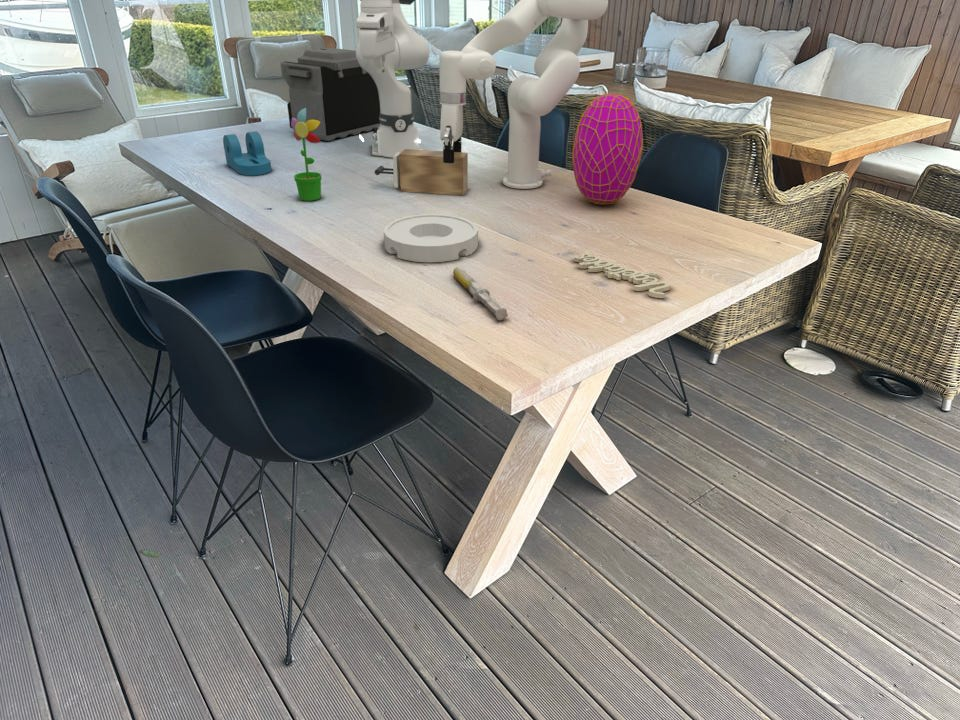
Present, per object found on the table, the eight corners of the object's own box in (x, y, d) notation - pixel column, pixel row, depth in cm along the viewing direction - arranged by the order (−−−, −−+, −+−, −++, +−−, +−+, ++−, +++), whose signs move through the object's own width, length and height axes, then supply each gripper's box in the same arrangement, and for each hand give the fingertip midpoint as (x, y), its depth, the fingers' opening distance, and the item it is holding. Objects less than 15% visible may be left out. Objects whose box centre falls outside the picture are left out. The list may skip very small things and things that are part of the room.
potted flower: (330, 196, 204) (321, 108, 191) (314, 203, 197) (304, 113, 185) (304, 192, 207) (294, 105, 194) (288, 199, 201) (276, 109, 188)
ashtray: (391, 227, 181) (390, 212, 179) (479, 229, 180) (479, 214, 178) (377, 261, 161) (376, 245, 159) (476, 263, 160) (476, 247, 158)
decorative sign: (686, 282, 150) (660, 295, 144) (686, 286, 150) (659, 300, 144) (592, 249, 166) (565, 259, 160) (592, 253, 167) (565, 263, 161)
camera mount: (227, 164, 233) (221, 132, 227) (257, 160, 238) (252, 129, 233) (244, 176, 220) (239, 143, 215) (276, 172, 225) (271, 139, 220)
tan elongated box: (400, 191, 209) (398, 154, 204) (406, 185, 215) (405, 148, 209) (463, 195, 206) (463, 157, 201) (467, 189, 212) (467, 152, 206)
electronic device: (351, 120, 297) (345, 44, 282) (389, 127, 286) (385, 48, 271) (285, 135, 271) (274, 52, 256) (324, 143, 260) (315, 57, 245)
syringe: (449, 274, 155) (449, 263, 153) (465, 272, 156) (464, 260, 154) (490, 323, 135) (491, 310, 133) (508, 319, 136) (508, 307, 134)
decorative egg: (611, 217, 189) (624, 103, 174) (555, 202, 201) (562, 94, 185) (647, 202, 202) (662, 94, 186) (592, 188, 213) (602, 86, 198)
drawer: (375, 186, 211) (372, 155, 206) (380, 181, 215) (378, 150, 210) (452, 191, 207) (452, 159, 202) (456, 186, 211) (456, 155, 206)
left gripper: (378, 15, 198) (381, 67, 205) (353, 21, 181) (358, 77, 188) (399, 16, 197) (401, 68, 204) (376, 22, 180) (380, 78, 187)
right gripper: (446, 92, 204) (446, 151, 212) (432, 102, 189) (433, 165, 198) (471, 94, 202) (470, 153, 211) (459, 104, 188) (458, 167, 196)
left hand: (380, 72), depth 196 cm, fingers closed
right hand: (452, 158), depth 204 cm, fingers open, 9 cm apart
